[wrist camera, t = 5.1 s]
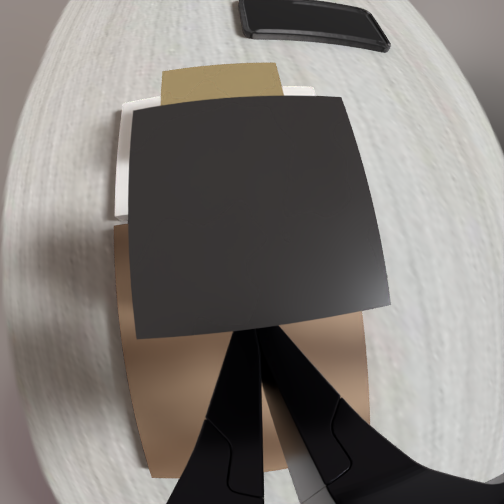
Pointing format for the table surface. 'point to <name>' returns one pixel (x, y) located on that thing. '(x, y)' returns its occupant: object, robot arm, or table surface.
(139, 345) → the door leaf
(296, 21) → the phone
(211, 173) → the dark square pillar
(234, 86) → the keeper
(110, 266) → the table surface
